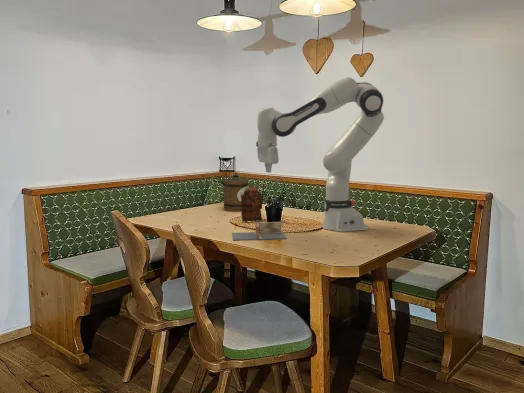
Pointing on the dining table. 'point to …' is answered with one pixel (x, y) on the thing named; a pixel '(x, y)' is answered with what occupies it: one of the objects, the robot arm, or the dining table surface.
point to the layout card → (254, 236)
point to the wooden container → (234, 193)
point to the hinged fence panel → (257, 229)
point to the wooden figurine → (251, 205)
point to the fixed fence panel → (269, 227)
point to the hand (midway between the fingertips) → (268, 172)
